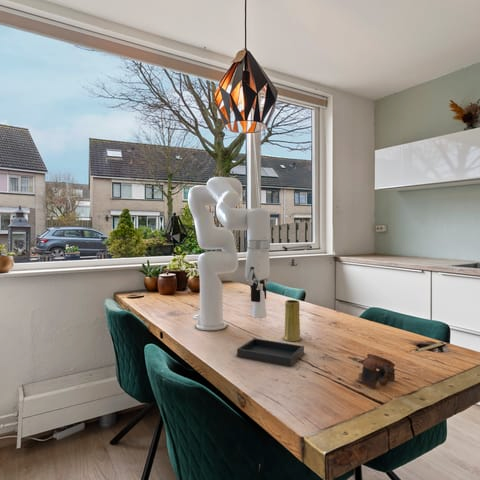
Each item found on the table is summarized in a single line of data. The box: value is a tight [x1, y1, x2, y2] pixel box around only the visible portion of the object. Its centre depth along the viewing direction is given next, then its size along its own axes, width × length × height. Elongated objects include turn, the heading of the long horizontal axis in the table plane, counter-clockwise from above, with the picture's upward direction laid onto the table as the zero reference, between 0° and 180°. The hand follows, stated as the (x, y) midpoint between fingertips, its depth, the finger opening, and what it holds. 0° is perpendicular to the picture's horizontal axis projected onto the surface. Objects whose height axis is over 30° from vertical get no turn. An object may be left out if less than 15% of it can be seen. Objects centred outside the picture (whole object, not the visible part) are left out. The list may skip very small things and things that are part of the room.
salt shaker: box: [250, 282, 268, 319], centre depth 120 cm, size 5×5×11 cm
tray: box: [236, 337, 305, 367], centre depth 119 cm, size 19×13×2 cm
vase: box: [283, 299, 301, 342], centre depth 135 cm, size 6×6×14 cm
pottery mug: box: [358, 353, 396, 389], centre depth 98 cm, size 12×10×8 cm
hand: (258, 299), depth 120 cm, fingers closed on salt shaker, 4 cm apart
